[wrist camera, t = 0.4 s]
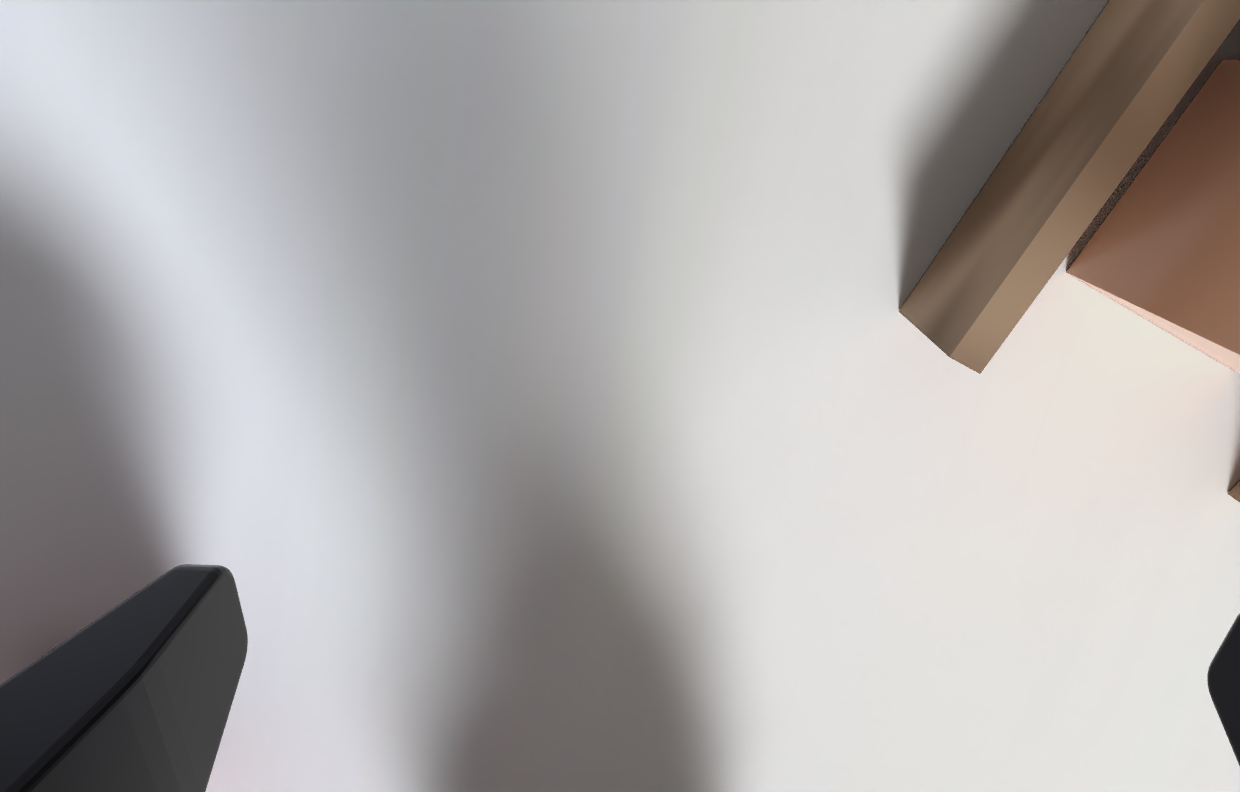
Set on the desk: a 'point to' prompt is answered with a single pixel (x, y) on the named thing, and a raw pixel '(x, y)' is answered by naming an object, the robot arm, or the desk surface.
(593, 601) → the desk surface
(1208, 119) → the tall peach pillar
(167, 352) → the desk surface
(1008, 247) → the brown l-shaped block
